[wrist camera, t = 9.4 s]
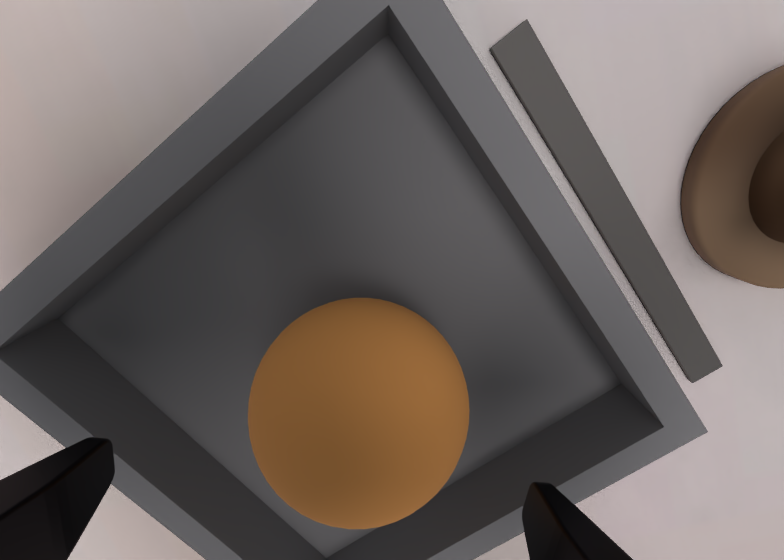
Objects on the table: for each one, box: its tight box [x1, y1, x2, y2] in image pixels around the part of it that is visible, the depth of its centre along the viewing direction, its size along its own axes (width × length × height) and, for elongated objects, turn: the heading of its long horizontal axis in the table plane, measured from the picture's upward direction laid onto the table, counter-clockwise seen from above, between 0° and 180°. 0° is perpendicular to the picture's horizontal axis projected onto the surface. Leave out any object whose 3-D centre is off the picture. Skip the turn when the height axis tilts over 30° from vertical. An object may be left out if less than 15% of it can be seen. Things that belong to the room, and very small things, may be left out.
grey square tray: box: [0, 0, 708, 560], centre depth 13 cm, size 16×16×3 cm
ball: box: [248, 298, 470, 529], centre depth 11 cm, size 6×6×6 cm
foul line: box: [490, 19, 722, 383], centre depth 13 cm, size 1×14×1 cm, turn 38°
